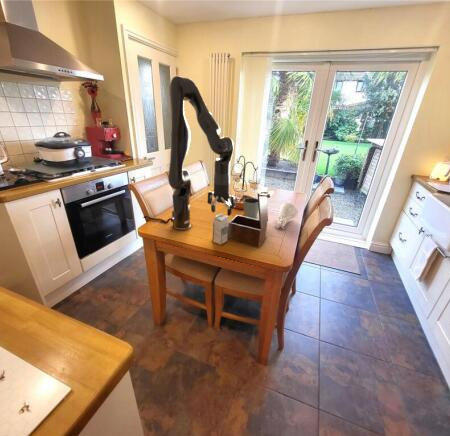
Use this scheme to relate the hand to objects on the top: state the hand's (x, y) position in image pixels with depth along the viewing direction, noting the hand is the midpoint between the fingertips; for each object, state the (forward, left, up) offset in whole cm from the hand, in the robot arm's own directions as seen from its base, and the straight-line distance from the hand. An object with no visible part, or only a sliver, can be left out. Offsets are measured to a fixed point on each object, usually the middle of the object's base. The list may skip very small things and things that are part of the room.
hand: (221, 213), depth 116 cm
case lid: (+18, +10, +3) cm, 21 cm away
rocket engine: (+23, +39, -16) cm, 48 cm away
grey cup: (+3, +36, -16) cm, 39 cm away
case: (+11, +10, -16) cm, 22 cm away
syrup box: (0, 0, -16) cm, 16 cm away
